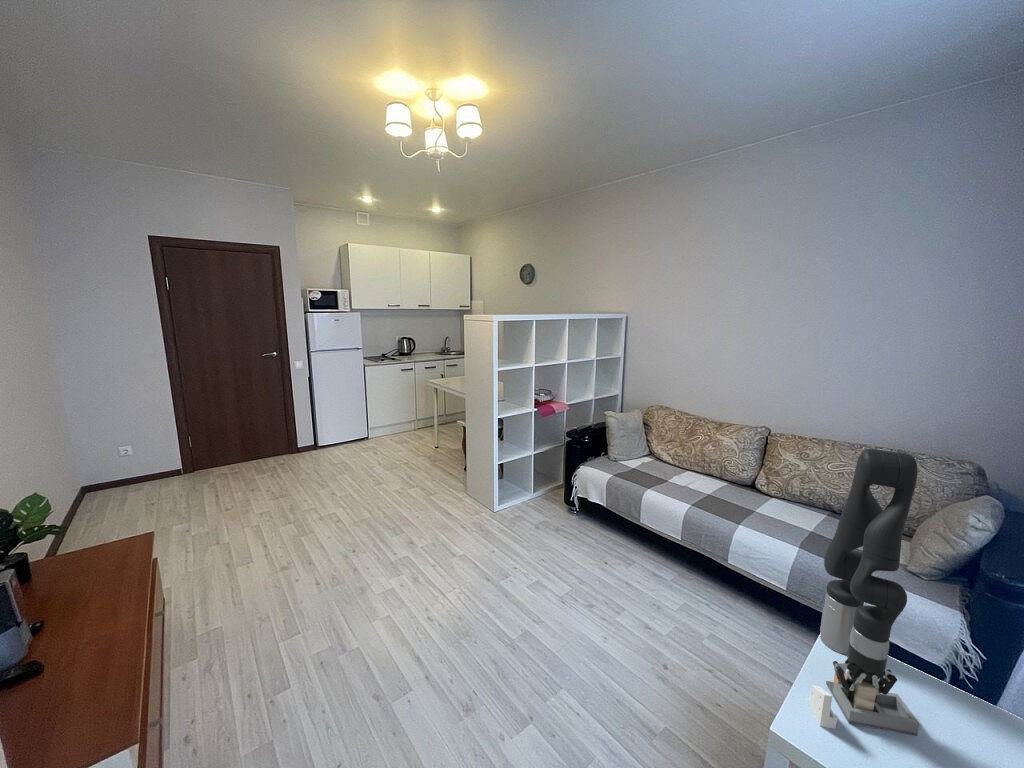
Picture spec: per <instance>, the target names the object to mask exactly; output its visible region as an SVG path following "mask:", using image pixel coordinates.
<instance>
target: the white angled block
mask: <svg viewBox="0 0 1024 768" xmlns="http://www.w3.org/2000/svg"><path fill="white" fill-rule="evenodd" d="M809 692H810V693H809V700H808V707H809V709H810V711H811V713H812V715H813V716H814V719H815V720H816V722H817V724H818V726H819V727H821V728H827V729H833V730H836V728H837V722H838V718H837V717H836V714H835V713H834V711H833V710H832V708H831V707H832V702H833V695H832V694H831V693H829V692H827V691H826V690H825V689H823V688H822V687H820V686H818V685H813V684H812V685H810V691H809Z"/></svg>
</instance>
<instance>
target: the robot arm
mask: <svg viewBox="0 0 1024 768" xmlns="http://www.w3.org/2000/svg"><path fill="white" fill-rule="evenodd" d="M856 461H857V462H856V464H855V469H854V473H853V477H852V481H851V486H850V487H851V488H850V491H849V493H848V496H847V498H846V501H845V502H844V503H845V504H844V506H843V508H842V510H841V511H842V512H841V514H840V516H839V521H838V525H837V526H836V527H837V528H836V531H835V533H834V536H833V538H832V540H831V541H830V543H829V545H828V547H827V549H826V551H825V554H824V560H823V565H824V566H823V567H824V569H825V571H826V573H827V574H828V575H830V576H831V577H833V578H837V579H834V580H833V579H832V580H831V581H829V582H828V583H827V585H826V591H825V599H824V605H823V608H822V613H821V622H820V628H819V631H820V632H819V633H820V634H819V639H820V640H821V641H822V643H823V644H824V645H825V646H827V647H828V648H829V649H831V650H833V651H835V652H837V653H839V654H843V655H847V659H846V660H845V661H844V662H843V663H842V662H841V663H839V662H838V661H836V660H834V661H832V665H833V668H834V671H835V672H836V675H837V678H838V680H839V681H840V683H841V685H842V687H844V688H845V691H844V693H845V695H846V697H847V699H849V701H850V702H853V701H854V695H855V691H854V690H855V689H856V685H858V684H859V685H860V684H861V682H868V683H871V684H872V686H873V687H876V688H877V692H876V698H875V703H876V700H877V695H879V693H883V694H884V695H886V694H888V693H890V691H891V689H892V688H893V687H894V685H895V684H896V682H898V678H897V677H896V675H895V674H894V673H893V672H892V670H891V669H886V667H887V662H888V656H889V652H890V651H889V650H890V638H891V632H892V627H893V625H894V623H895V621H896V620H897V619H898V617H899V616H900V615H901V613H903V611H904V609H905V608H906V605H907V603H908V594H907V591H906V590H905V588H904V586H902V585H901V584H900V583H898V582H896V581H893V580H889V579H887V578H881V577H878V576H874V575H873V573H875V572H879V571H880V572H897V571H899V568H900V560H901V549H902V539H903V533H904V529H905V525H906V521H907V519H908V515H909V512H910V508H911V504H912V500H913V497H914V493H915V489H916V486H917V481H918V474H919V473H918V472H919V470H918V463H917V460H916V458H915V457H914V456H913V455H911V454H909V453H904V452H899V451H891V450H890V451H889V450H885V449H884V450H882V449H873V448H866V449H863V450H862V451H861V452H860V454H859V455H858V457H857V460H856ZM873 485H875V486H882V487H887V488H893V489H894V491H893V494H892V497H891V500H890V502H889V503H888V504H887V506H885V508H884V509H883V508H882V506H881V505H880V503H879V502H878V501H877V499H876V498H875V496H874V494H873V493H872V491H871V488H870V487H871V486H873ZM859 548H862V552H861V551H857V549H859ZM864 604H869V605H864ZM820 635H821V636H820ZM846 670H847V672H846ZM835 672H834V673H835ZM844 674H847V677H846V679H845V676H844ZM878 679H879V681H878ZM884 684H885V686H884V687H883V685H884ZM875 703H874V704H875Z"/></svg>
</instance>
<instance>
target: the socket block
mask: <svg viewBox="0 0 1024 768" xmlns="http://www.w3.org/2000/svg"><path fill="white" fill-rule="evenodd" d="M844 676H845V679H846V677H847V673H846V674H844ZM878 681H879V679H878ZM825 685H826V686H827V688H828V690H829V691H830V694H831V696H832V698H833V699H834V700H835V702H836V703H837V706H838V707H839V709H840V710H841V713H842V714H843V716H844V718H845V720H846V722H847V723H848V724H851V725H857V726H861V727H866V728H871V729H878V730H883V731H888V732H893V733H898V734H902V735H903V734H904V735H908V736H913V737H917V736H918V731H919V727H920V722H919V721H918V719H917V718H916V717H915V715H914V714H913V713H912V711H911V710H910V709H909V708H908V706H907V705H906V703H905V702H904V701H903V699H902V698H901V697H900V695H899V693H892V692H888V694H886V695H884V694H883V693H879V695H877V700H876V703H875V704H874V709H873V712H872V711H867V710H861V709H856V708H853V707H852V705H851V704H850V702H849V701H848V699H847V697H846V695H845V693H844V691H845V688H844V687H842V685H841V683H840V681H839V680H838V678H837V675H836V672H834V675H833V681H831V680H830V681H828V680H826V682H825ZM884 686H885V684H884V685H883V687H884Z"/></svg>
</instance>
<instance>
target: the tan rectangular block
mask: <svg viewBox="0 0 1024 768" xmlns="http://www.w3.org/2000/svg"><path fill="white" fill-rule="evenodd" d="M854 691H855V695H854V701H853V702H850V701H849V699H848V701H849V702H850V704H851V705H852V707H853V708H856V709H861V710H867V711H872V712H873V709H874V703H875V698H876V692H877V688H876V687H873V686H872V684H871V683H868V682H861V684H860V685H859V684H858V685H856V689H855V690H854Z"/></svg>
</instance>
